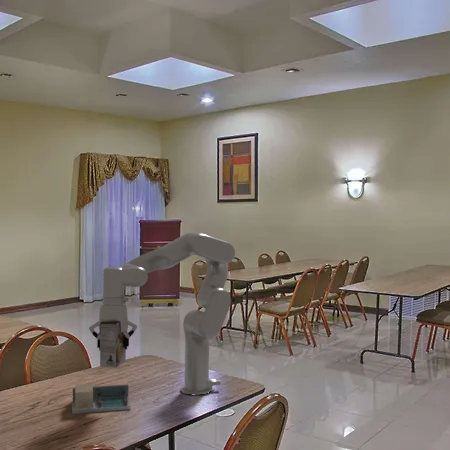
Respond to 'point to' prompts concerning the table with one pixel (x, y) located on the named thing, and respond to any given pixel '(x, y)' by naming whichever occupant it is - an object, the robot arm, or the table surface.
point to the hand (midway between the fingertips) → (113, 349)
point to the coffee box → (112, 344)
